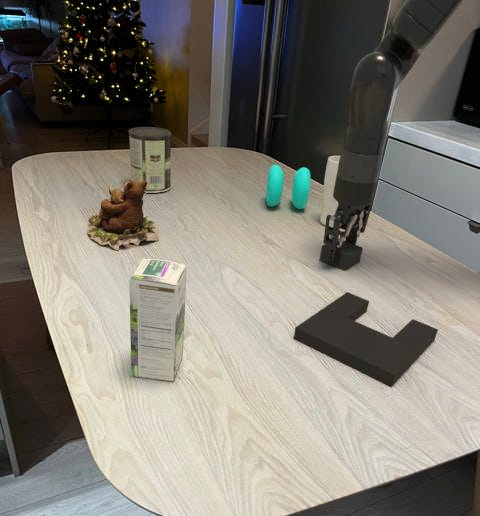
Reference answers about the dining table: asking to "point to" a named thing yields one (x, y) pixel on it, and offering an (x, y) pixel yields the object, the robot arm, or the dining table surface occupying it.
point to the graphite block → (344, 255)
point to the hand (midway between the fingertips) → (340, 258)
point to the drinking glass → (329, 189)
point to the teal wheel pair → (298, 191)
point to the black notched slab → (364, 340)
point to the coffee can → (151, 157)
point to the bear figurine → (123, 218)
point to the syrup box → (157, 318)
